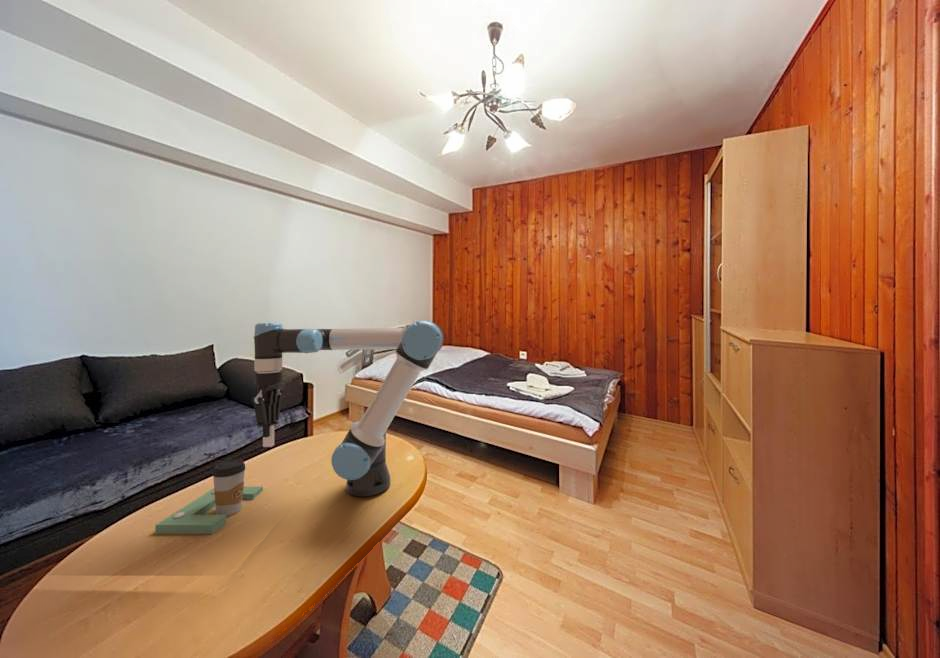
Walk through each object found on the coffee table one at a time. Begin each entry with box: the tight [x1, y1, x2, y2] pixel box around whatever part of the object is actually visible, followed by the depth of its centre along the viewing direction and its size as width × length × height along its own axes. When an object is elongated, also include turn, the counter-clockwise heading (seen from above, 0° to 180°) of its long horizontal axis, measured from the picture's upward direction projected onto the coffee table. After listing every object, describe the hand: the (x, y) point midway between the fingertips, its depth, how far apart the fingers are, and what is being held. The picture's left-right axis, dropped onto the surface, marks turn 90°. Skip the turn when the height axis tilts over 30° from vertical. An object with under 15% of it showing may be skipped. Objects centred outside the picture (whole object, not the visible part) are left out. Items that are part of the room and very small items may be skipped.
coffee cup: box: [212, 458, 246, 518], centre depth 101 cm, size 8×8×15 cm
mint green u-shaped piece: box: [155, 486, 264, 535], centre depth 101 cm, size 16×22×3 cm
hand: (268, 446), depth 102 cm, fingers closed
